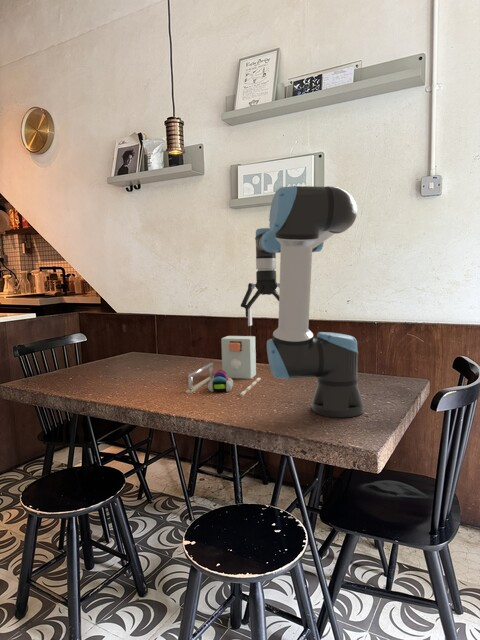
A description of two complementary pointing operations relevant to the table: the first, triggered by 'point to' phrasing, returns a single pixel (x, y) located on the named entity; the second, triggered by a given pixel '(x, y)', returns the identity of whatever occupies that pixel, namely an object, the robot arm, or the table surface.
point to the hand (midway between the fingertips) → (267, 325)
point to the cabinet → (239, 357)
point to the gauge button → (235, 346)
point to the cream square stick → (250, 387)
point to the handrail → (193, 388)
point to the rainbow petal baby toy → (220, 381)
